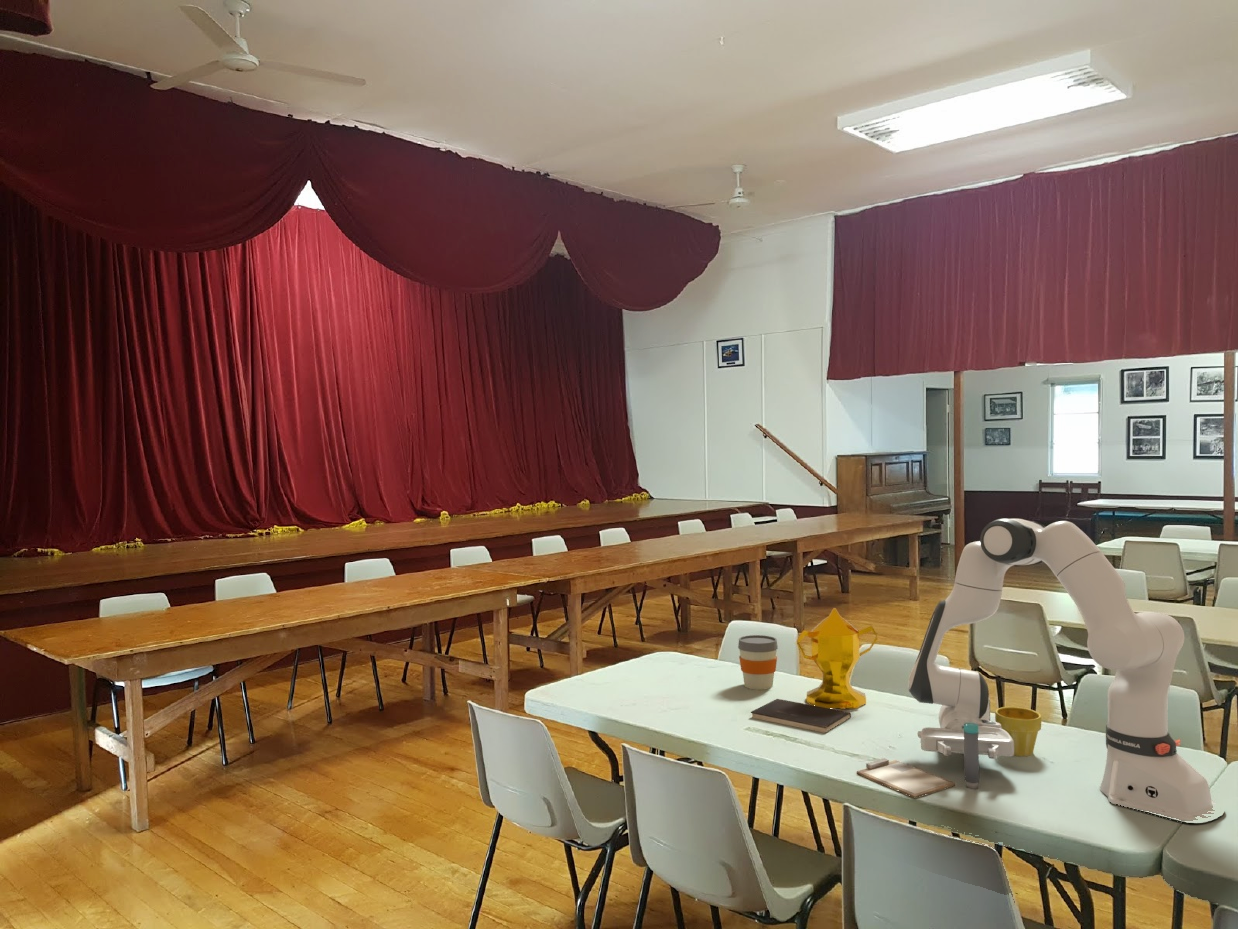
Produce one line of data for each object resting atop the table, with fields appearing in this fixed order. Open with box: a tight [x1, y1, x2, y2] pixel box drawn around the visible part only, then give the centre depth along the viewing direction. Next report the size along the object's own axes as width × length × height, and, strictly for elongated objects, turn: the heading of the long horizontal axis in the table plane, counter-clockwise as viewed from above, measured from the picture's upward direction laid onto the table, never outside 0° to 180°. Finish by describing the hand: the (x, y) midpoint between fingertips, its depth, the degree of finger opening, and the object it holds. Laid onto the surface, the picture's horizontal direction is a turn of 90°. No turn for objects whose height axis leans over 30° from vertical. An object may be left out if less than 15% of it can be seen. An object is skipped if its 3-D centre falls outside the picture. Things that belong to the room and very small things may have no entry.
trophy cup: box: [796, 607, 878, 710], centre depth 257 cm, size 18×24×28 cm
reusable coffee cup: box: [737, 634, 779, 691], centre depth 276 cm, size 13×13×15 cm
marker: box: [963, 723, 980, 790], centre depth 192 cm, size 3×3×14 cm
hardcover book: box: [750, 698, 852, 733], centre depth 243 cm, size 16×23×2 cm
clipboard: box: [856, 758, 956, 798], centre depth 197 cm, size 17×13×2 cm
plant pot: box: [994, 706, 1042, 757], centre depth 213 cm, size 10×10×10 cm
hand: (970, 753), depth 193 cm, fingers open, 8 cm apart
